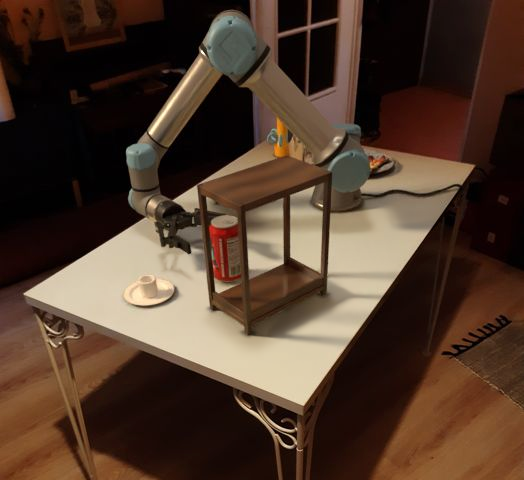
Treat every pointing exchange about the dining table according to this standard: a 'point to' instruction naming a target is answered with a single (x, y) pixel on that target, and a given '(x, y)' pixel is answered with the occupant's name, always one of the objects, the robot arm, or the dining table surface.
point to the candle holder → (149, 291)
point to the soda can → (225, 248)
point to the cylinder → (280, 140)
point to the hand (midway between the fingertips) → (212, 240)
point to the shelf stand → (291, 272)
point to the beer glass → (295, 147)
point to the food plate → (379, 161)
